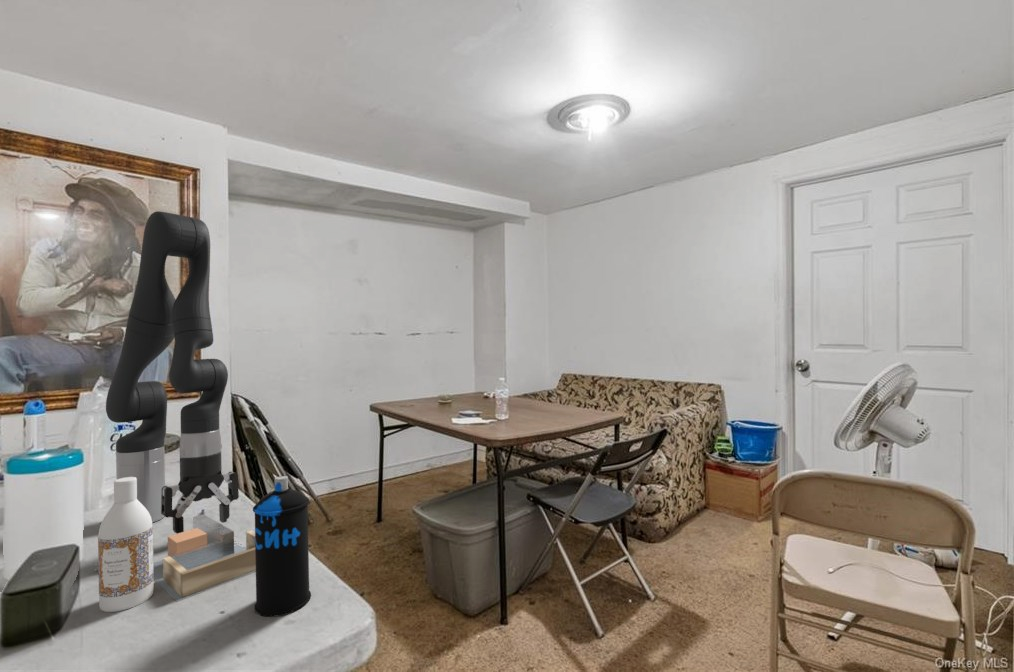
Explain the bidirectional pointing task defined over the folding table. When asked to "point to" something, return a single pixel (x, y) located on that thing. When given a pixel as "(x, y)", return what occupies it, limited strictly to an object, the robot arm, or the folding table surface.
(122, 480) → the bath foam
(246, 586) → the folding table surface
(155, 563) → the mat
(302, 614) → the folding table surface
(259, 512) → the aerosol can
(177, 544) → the block
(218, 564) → the stall
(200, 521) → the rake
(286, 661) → the folding table surface
